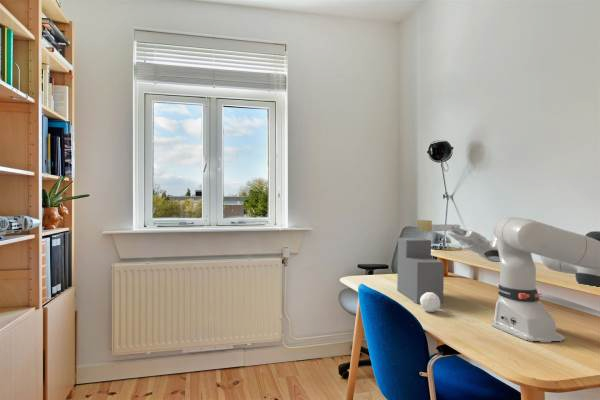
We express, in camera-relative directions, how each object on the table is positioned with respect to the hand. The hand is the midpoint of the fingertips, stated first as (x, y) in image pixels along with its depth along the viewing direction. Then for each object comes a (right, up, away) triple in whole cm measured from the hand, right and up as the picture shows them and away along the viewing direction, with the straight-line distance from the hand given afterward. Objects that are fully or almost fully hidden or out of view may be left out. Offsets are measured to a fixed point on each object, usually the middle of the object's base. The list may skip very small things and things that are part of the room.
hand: (451, 226), depth 175 cm
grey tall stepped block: (-19, -32, -8) cm, 38 cm away
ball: (-21, -32, -30) cm, 49 cm away
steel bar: (-6, -2, -1) cm, 7 cm away
